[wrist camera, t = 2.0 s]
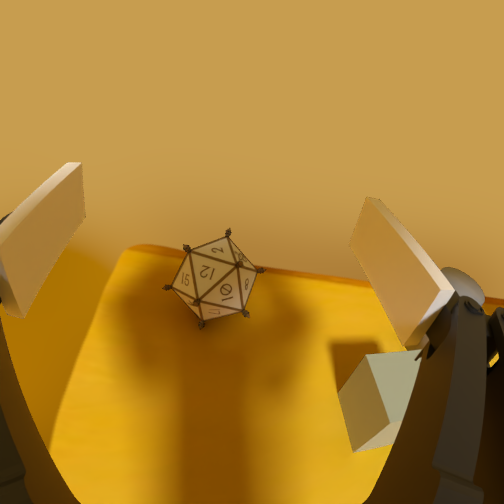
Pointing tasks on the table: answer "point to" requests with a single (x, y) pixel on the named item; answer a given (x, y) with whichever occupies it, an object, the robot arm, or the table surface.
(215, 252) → the game die
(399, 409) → the olive block
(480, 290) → the gray cylinder
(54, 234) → the robot arm
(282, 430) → the table surface
